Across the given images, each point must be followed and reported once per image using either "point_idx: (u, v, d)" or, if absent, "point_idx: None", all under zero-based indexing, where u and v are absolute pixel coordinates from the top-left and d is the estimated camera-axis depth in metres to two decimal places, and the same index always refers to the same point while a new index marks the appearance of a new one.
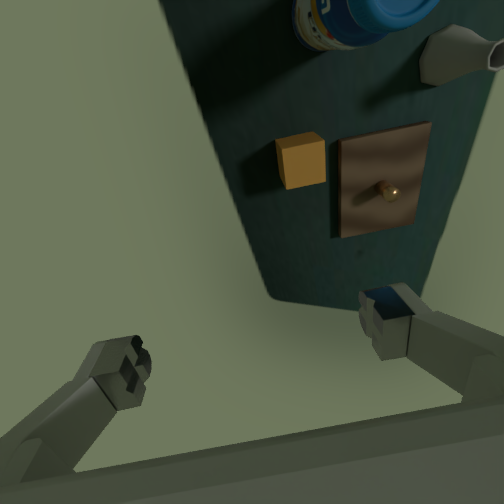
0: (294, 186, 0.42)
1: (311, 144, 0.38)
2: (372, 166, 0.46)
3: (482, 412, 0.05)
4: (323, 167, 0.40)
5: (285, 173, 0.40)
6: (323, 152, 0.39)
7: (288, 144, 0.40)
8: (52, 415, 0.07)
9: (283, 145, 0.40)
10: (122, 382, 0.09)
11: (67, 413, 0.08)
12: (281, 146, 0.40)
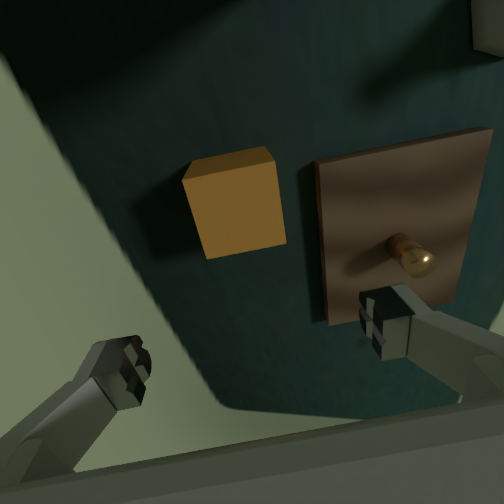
0: (222, 253, 0.20)
1: (246, 169, 0.17)
2: (379, 209, 0.25)
3: (482, 412, 0.05)
4: (278, 216, 0.19)
5: (199, 228, 0.19)
6: (275, 186, 0.18)
7: (203, 169, 0.19)
8: (52, 414, 0.07)
9: (193, 171, 0.19)
10: (122, 382, 0.09)
11: (67, 413, 0.08)
12: (187, 173, 0.19)
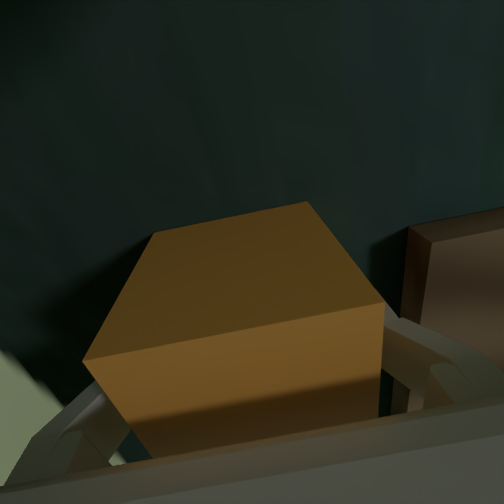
0: None
1: (291, 328, 0.05)
2: None
3: (482, 412, 0.05)
4: (367, 417, 0.07)
5: (152, 449, 0.07)
6: (372, 360, 0.06)
7: (162, 296, 0.07)
8: (89, 408, 0.07)
9: (134, 301, 0.07)
10: None
11: (102, 407, 0.08)
12: (117, 311, 0.07)
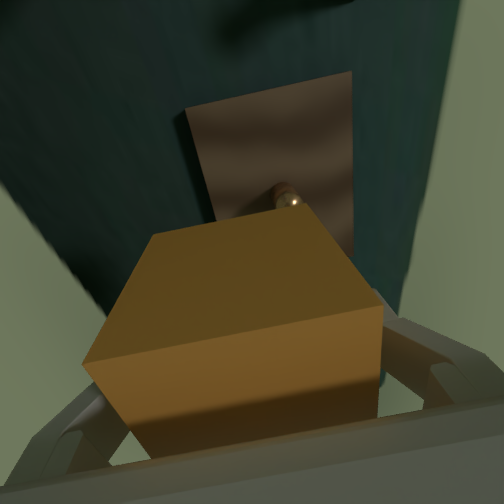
0: None
1: (290, 331, 0.05)
2: (256, 156, 0.25)
3: (482, 412, 0.05)
4: (366, 419, 0.07)
5: (152, 451, 0.07)
6: (371, 362, 0.06)
7: (162, 298, 0.07)
8: (89, 408, 0.07)
9: (133, 303, 0.07)
10: None
11: (102, 406, 0.08)
12: (117, 313, 0.07)
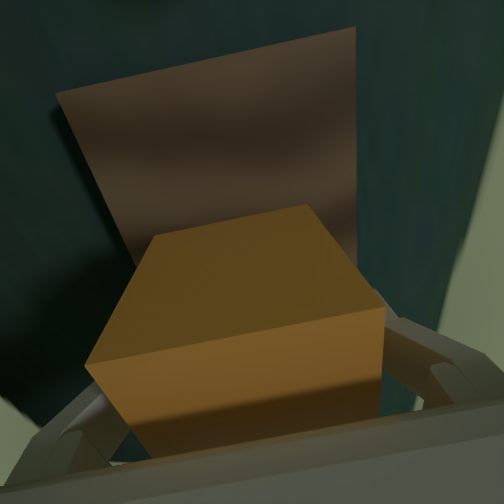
0: None
1: (292, 332, 0.05)
2: (194, 177, 0.15)
3: (482, 412, 0.05)
4: None
5: (154, 452, 0.07)
6: (373, 364, 0.06)
7: (164, 299, 0.07)
8: (89, 408, 0.07)
9: (135, 304, 0.07)
10: None
11: (102, 406, 0.08)
12: (119, 314, 0.07)
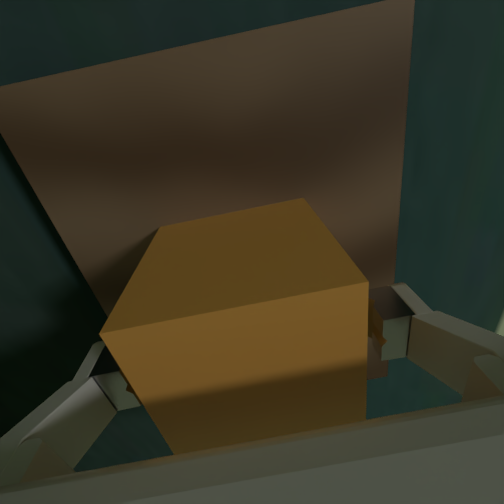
0: None
1: (285, 305, 0.06)
2: (182, 207, 0.11)
3: (482, 412, 0.05)
4: (356, 393, 0.08)
5: (159, 422, 0.08)
6: (359, 337, 0.07)
7: (169, 280, 0.08)
8: (52, 415, 0.07)
9: (143, 285, 0.08)
10: (122, 383, 0.09)
11: (67, 413, 0.08)
12: (128, 293, 0.07)
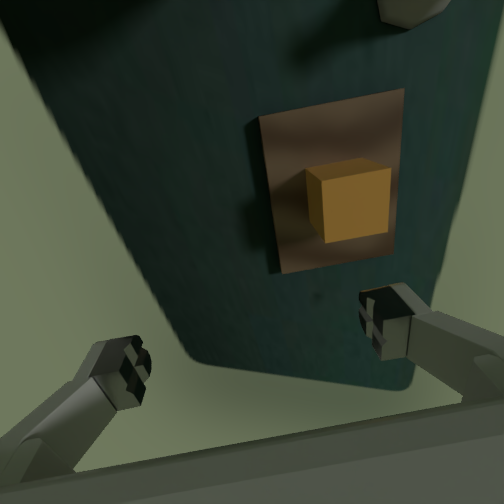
0: (337, 238, 0.26)
1: (369, 174, 0.24)
2: (315, 160, 0.29)
3: (482, 412, 0.05)
4: (386, 210, 0.25)
5: (325, 218, 0.25)
6: (388, 187, 0.24)
7: (330, 174, 0.25)
8: (52, 415, 0.07)
9: (322, 175, 0.25)
10: (122, 382, 0.09)
11: (67, 413, 0.08)
12: (319, 177, 0.25)
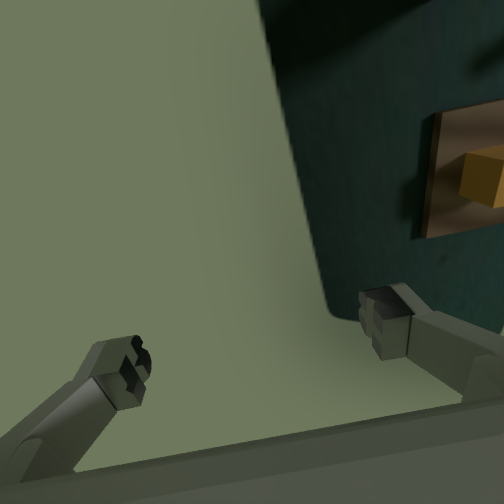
0: (503, 204, 0.35)
1: None
2: (475, 145, 0.37)
3: (482, 412, 0.05)
4: None
5: (498, 189, 0.34)
6: None
7: (503, 155, 0.34)
8: (52, 415, 0.07)
9: (497, 157, 0.34)
10: (122, 382, 0.09)
11: (67, 413, 0.08)
12: (496, 158, 0.33)
